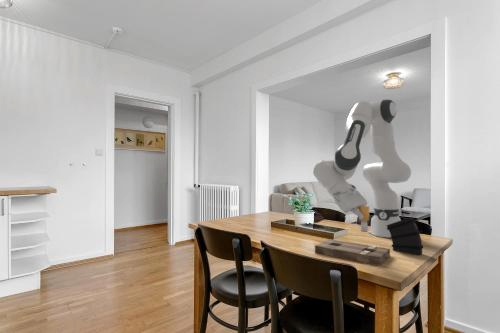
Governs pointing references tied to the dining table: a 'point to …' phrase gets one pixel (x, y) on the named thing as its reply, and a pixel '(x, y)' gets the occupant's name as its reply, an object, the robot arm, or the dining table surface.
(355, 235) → the dining table surface
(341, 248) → the board
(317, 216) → the pine cone
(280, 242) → the dining table surface
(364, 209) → the wooden block
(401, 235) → the magazine
